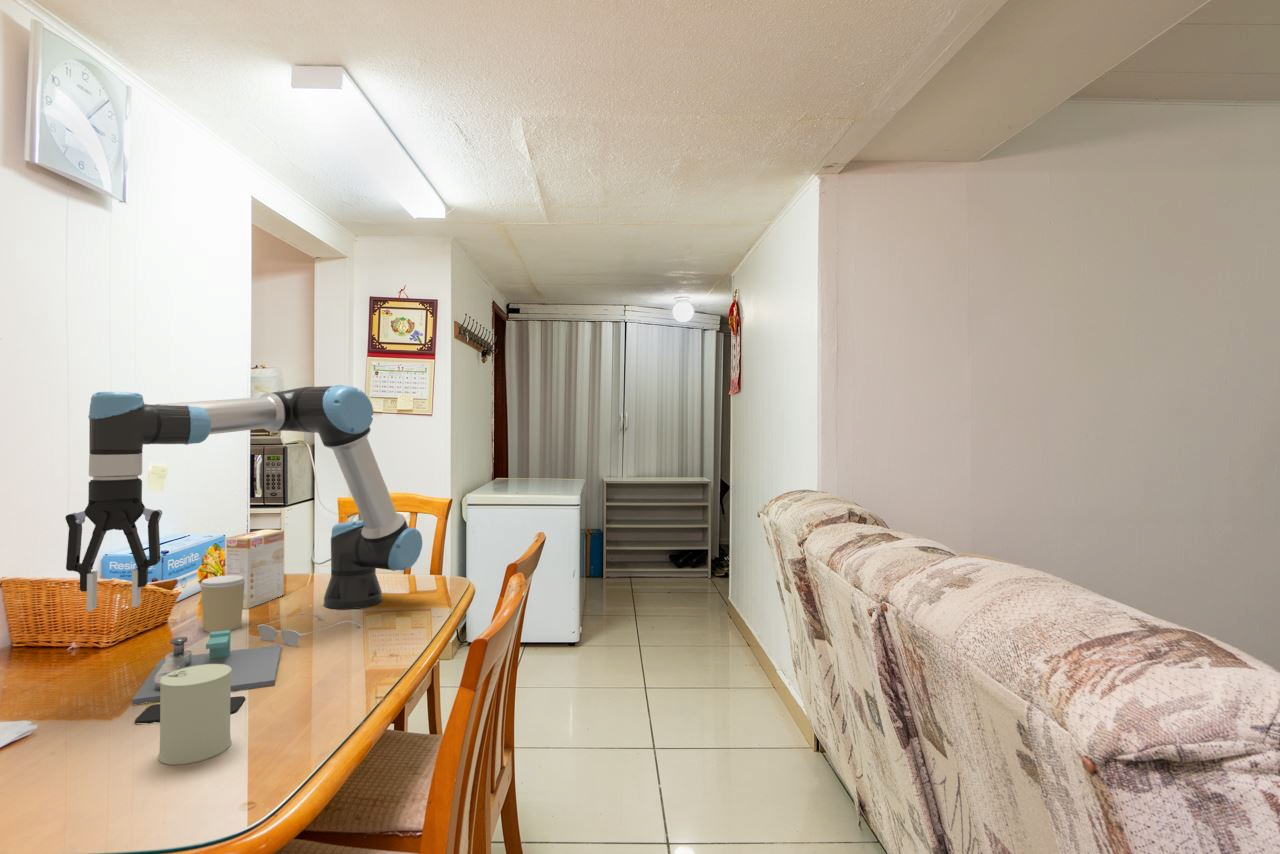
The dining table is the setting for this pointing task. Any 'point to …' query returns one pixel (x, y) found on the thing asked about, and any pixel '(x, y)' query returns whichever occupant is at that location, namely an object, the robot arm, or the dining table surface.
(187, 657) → the link
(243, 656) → the board
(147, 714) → the phone
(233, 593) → the coffee cup
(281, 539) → the coffeecake box
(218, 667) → the can
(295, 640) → the eyeglasses
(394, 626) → the dining table surface
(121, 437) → the robot arm
